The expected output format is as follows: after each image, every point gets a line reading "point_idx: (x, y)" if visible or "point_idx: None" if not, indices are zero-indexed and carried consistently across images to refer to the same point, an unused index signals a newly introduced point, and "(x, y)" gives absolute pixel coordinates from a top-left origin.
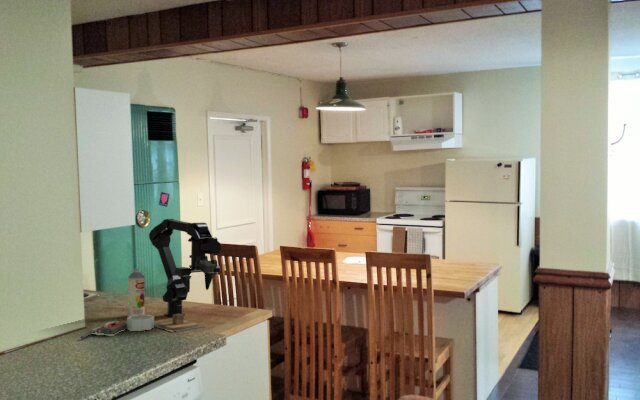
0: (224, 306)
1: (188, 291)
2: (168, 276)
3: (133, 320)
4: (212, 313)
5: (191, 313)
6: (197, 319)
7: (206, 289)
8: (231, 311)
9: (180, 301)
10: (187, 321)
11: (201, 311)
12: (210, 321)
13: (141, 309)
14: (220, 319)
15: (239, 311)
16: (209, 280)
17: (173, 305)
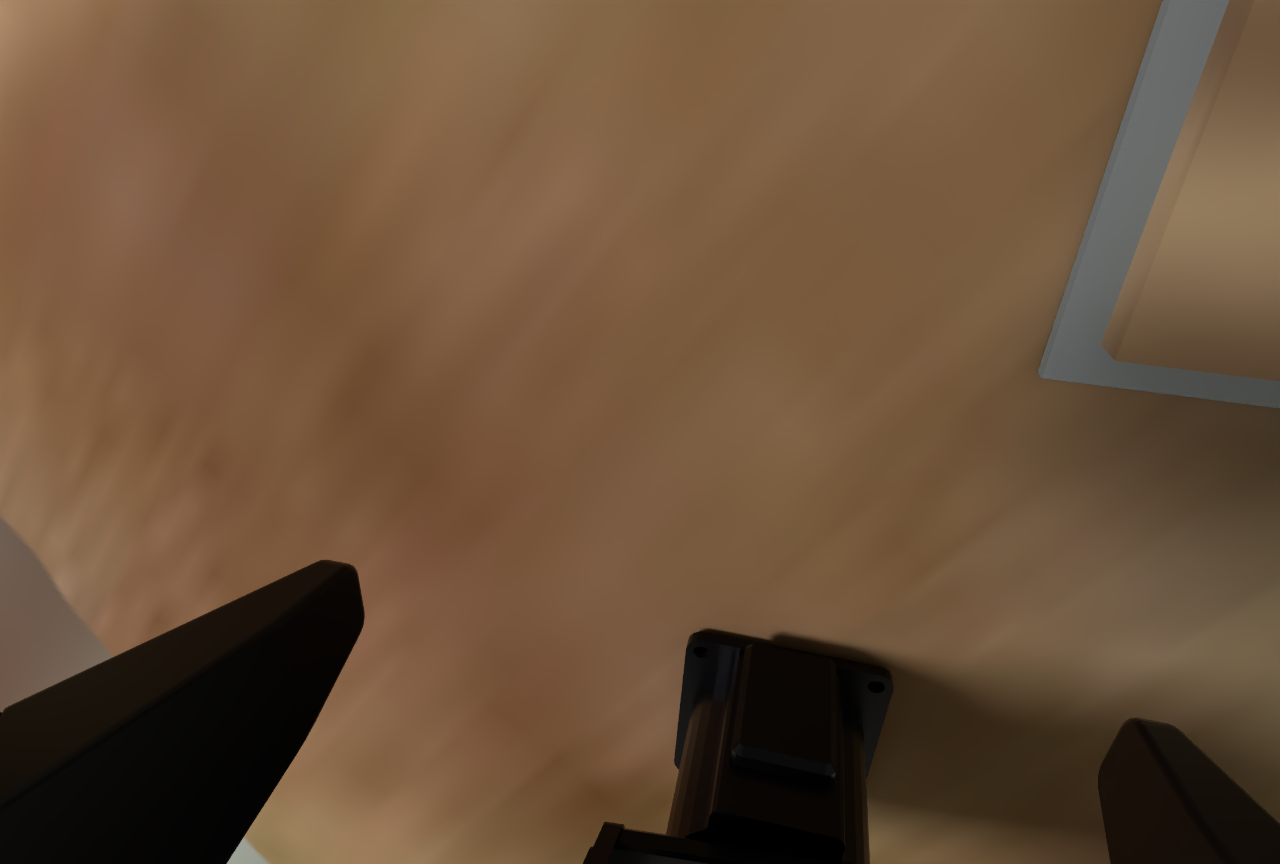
0: (100, 605)
1: (1188, 743)
2: None
3: None
4: (365, 466)
5: (563, 641)
6: (742, 346)
7: (360, 606)
8: (117, 374)
9: (741, 818)
10: (1246, 132)
11: (415, 625)
12: (698, 60)
13: None
14: (478, 63)
15: (26, 298)
16: (2, 796)
17: (847, 813)
